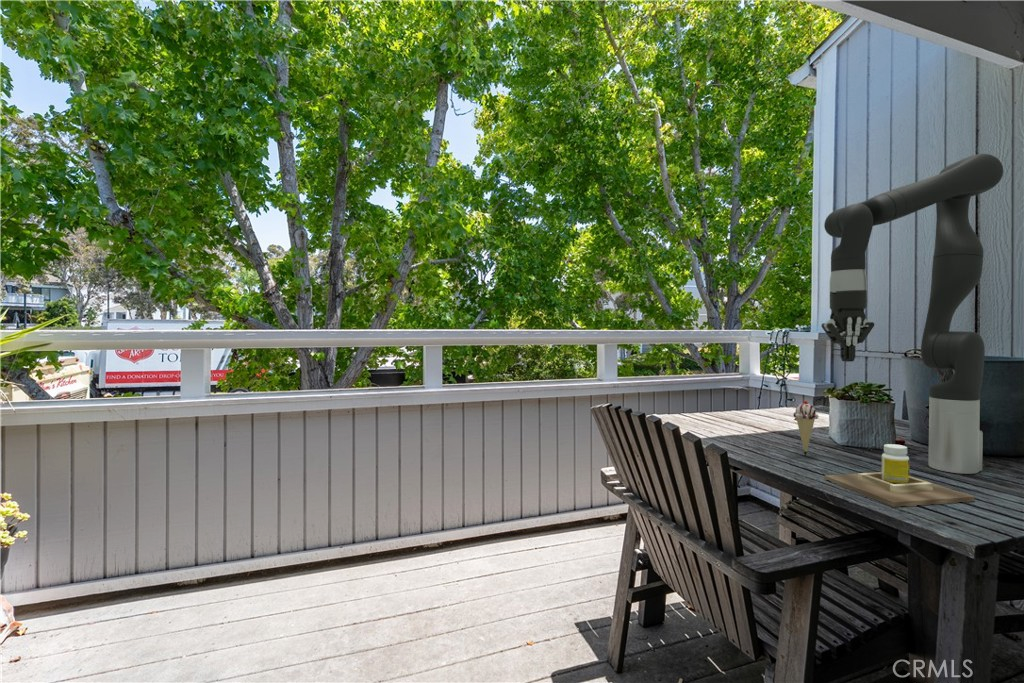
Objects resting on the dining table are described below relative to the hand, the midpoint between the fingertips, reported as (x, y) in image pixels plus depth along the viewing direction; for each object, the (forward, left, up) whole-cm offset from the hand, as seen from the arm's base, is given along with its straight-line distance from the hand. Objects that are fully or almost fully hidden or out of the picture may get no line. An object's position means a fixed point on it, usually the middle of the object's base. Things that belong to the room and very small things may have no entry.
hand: (847, 361), depth 124 cm
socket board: (+3, +16, -26) cm, 31 cm away
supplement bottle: (+3, +16, -26) cm, 30 cm away
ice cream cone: (+2, -12, -27) cm, 29 cm away
